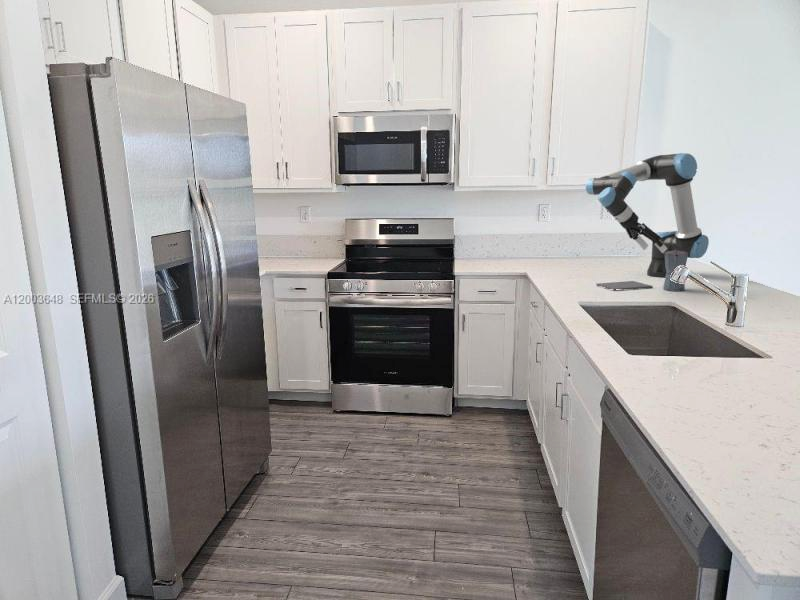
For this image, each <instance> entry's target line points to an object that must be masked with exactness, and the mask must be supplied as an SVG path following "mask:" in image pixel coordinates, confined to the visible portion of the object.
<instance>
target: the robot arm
mask: <svg viewBox="0 0 800 600" xmlns="http://www.w3.org/2000/svg"><path fill="white" fill-rule="evenodd" d="M697 170H698V163H697V160H696V158H695V156H694V155H692V154H691V153H685V152H684V153H683V152H681V153H671V154H661V155H655V156H651V157H649V158H645V159H644V160H641V161H638V162H636V163H635V164H634V165H633V166H630V167H626V168H624V169H621V170H618V171H615V172H613V173H610V174H607V175H604V176H601V177H593V178H589V179H588V180H587V181H586V183H585V191H586V193H587V194H588V195H593V196H596V195H597V200H598V201H599V203H600V204H601V205H602V207H603V208H604V209H605V210H606V211H607V212H608V214H610V215H611V216H612V217H613V218H614V220H615V221H617V222H618V223H619V225H620V226H621V227H622V228H623V229H624V230H625V232H626V233H627V235H628V237H629V238H630V239H631V240H634V241H635V242H636V243H637V244H638V245H639V246H640V248H642V250H644V251H645V250H646V249H647V248H648V247H649V244H648V243H647V242H646V241H645V240H644V239H643V238H642V237H641V236H644V237H645V238H647V239H648V240H650V241H651V247H652V248H651V261H650V264H649V266H648V268H647V270H646V275H647V276H651V277H656V278H665V277H666V273H667V272H666V268H665V255H664V253H665V252H668V251H673V250H675V247H678V250H679V251H684V252H687V253H688V257H687V259H688V258H690V259H700V258H703V257H704V255H705V254H706V252H707V251H708V247H709V244H710V243H709V242H710V241H709V240H710V239H709V237H708V236H707V235H706V234H703V233H702V229H701V228H699V227H698V223H697V217H696V213H695V212H696V211H695V210H696V209H695V205H694V199H693V191H692V186H691V182H692V181H693V180H694V177H695V176H696V174H697V172H698V171H697ZM650 180H651V181H653V180H654V181H655V180H656V181H657V180H659V181H660V180H661V181H662V180H665V186H667V187H668V188H670V193H671V200H672V205H673V211H674V217H675V222H676V227H677V230H671V231H662V232H654V231H653V230H652V229H651V228H650V227H649V226H647V224H646V223H644V222H642V223H641V222H639V216H638V215H637V213H636V212H635V211H633V209H632V208H631V206H629V205H628V204H627V202H626V201H625V200H626V198H627V196H628V195H629V193H630V192H631V191H632V189H634V186H635V185H636V183H637V182H644V181H650ZM640 235H641V236H640Z"/></svg>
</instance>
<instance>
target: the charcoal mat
mask: <svg viewBox="0 0 800 600" xmlns="http://www.w3.org/2000/svg"><path fill="white" fill-rule="evenodd" d="M595 285H598V286H597V287H599V286H602V287H605V288H604V289H606V288H609V289H613V290H616V289H633V290H639V289H638V288H646V289H653V285H650V284H647V283H642V282H639V281H636V280H635V281H634V280H627V281H617V282H616V281H614V282H602V283H601V282H599V283H596V284H595ZM602 287H601V288H602ZM609 289H608V290H609Z"/></svg>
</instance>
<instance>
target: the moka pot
mask: <svg viewBox="0 0 800 600" xmlns="http://www.w3.org/2000/svg"><path fill="white" fill-rule="evenodd" d="M664 255H665V268H666V272H667V273H666V277H664V283H663V288H662V289H663V290H664V291H668V292H683V291H685V290H686V286H685V283H684V284H679V283H675V282H673V281H671V280H670V275H671V273H672V272H673V271H674V269H675V268H676V267H677V266H679V265H684V266H687V261H688V258H687V257H688V253H687V252H684V251H679V250H678V247H675V250H673V251H668V252H665V253H664Z"/></svg>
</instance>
